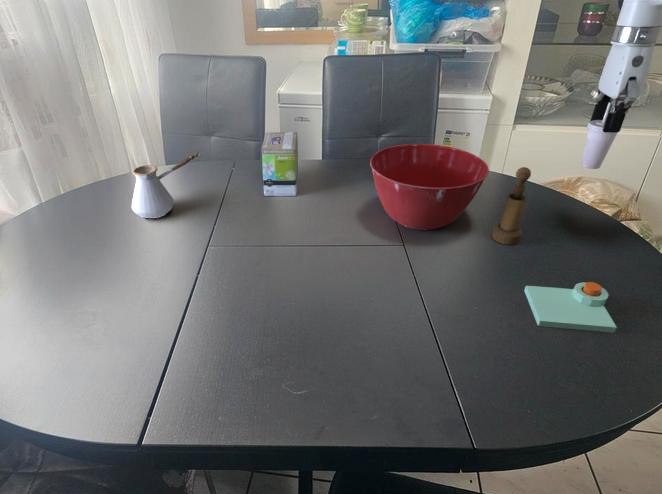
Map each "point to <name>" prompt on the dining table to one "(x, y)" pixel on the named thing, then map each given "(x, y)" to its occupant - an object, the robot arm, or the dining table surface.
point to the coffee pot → (153, 191)
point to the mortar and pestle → (513, 212)
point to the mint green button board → (570, 308)
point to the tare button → (592, 289)
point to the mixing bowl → (426, 183)
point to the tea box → (280, 163)
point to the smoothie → (597, 143)
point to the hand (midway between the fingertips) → (604, 126)
